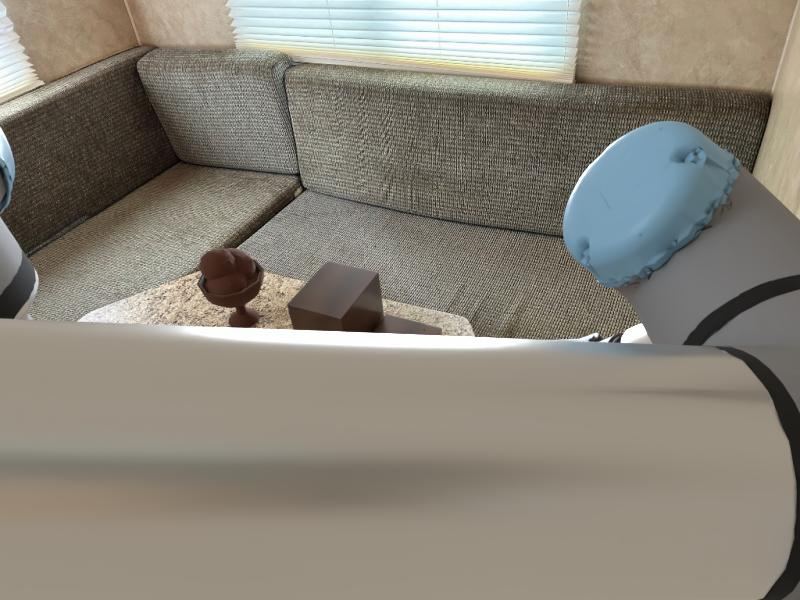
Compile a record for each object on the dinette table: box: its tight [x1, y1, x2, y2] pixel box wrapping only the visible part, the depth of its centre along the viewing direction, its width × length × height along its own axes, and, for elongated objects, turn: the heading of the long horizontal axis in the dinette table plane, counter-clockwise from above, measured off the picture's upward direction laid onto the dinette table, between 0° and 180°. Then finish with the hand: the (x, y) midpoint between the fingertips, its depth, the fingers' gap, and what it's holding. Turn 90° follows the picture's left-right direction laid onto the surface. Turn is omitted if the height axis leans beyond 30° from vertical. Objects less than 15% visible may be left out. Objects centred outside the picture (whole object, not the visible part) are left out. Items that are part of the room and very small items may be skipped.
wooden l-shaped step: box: [286, 260, 443, 336], centre depth 95 cm, size 20×12×11 cm, turn 64°
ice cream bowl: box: [196, 247, 265, 328], centre depth 102 cm, size 11×11×15 cm
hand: (445, 452), depth 55 cm, fingers open, 13 cm apart
